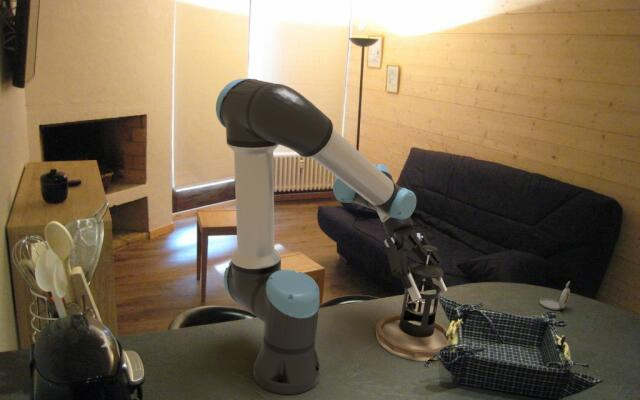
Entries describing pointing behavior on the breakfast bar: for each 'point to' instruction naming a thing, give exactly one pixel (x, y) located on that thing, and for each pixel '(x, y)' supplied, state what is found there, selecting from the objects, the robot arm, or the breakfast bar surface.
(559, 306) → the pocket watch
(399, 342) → the ring trivet
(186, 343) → the breakfast bar surface
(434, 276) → the french press
